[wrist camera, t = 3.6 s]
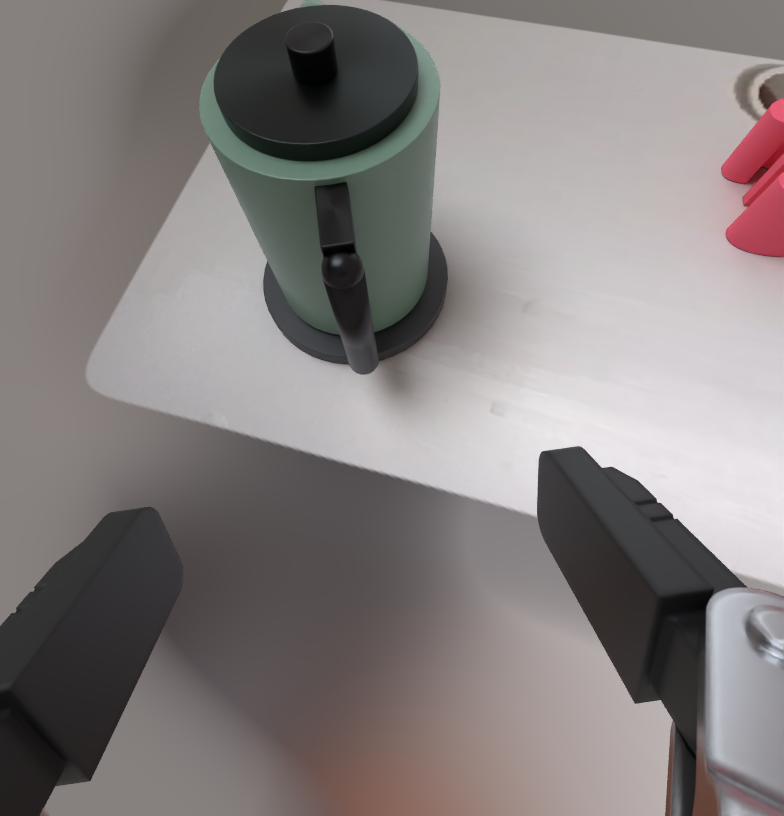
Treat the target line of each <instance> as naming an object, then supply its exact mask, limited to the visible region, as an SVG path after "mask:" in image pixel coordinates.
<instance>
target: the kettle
mask: <svg viewBox="0 0 784 816" xmlns="http://www.w3.org/2000/svg"><path fill="white" fill-rule="evenodd" d="M439 100H440V80H439V74H438V71H437V68H436V65H435V62H434V61H433V59H432V57H431V55H430V54H429V52H428V51H427V50H426V49H425V47H424V46H423V45H422V44H421V43H420V42H419V41H418V40H417V39H416V38H414V37H413V36H412V35H410V34H409V33H407V32H406V31H405V30H403V29H401V28H399V27H398V26H396V25H395V24H394V23H392V22H391V21H389V20H388V19H386V18H384V17H382V16H380V15H378V14H375V13H373V12H370V11H367V10H363V9H359V8H355V7H349V6H340V5H324V4H323V3H322V2H321V1H319V0H306V1H304V2H303V3H302V4H301V5H300V7H299V8H295V9H292V10H288V11H284V12H281V13H278V14H275V15H272V16H270V17H268V18H266V19H264V20H261V21H260V22H258V23H256V24H254V25H253V26H251V27H249V28H248V29H247V30H245V31H244V32H242V33H241V34H240V35H239V36H238V37H237V38H236V39H234V40H233V41H232V43H231V44H230V45H229V46H228V47H227V48H226V50H225V51H224V53H223V54H222V56H221V57H220V58H219V59H218V61H217V62H216V63H215V65H214V66H213V68H212V69H211V70H210V72H209V73H208V76H207V78H206V80H205V82H204V84H203V87H202V91H201V95H200V103H199V108H200V118H201V121H202V125H203V128H204V130H205V132H206V134H207V137H208V139H209V141H210V143H211V145H212V147H213V149H214V151H215V153H216V155H217V157H218V159H219V161H220V163H221V166H222V168H223V170H224V172H225V174H226V176H227V178H228V180H229V182H230V184H231V186H232V188H233V190H234V192H235V195H236V197H237V199H238V201H239V203H240V205H241V207H242V209H243V211H244V213H245V215H246V217H247V219H248V221H249V223H250V226H251V228H252V230H253V232H254V234H255V236H256V238H257V240H258V242H259V244H260V246H261V248H262V250H263V252H264V255H265V257H266V259H267V261H268V263H269V265H270V267H271V269H272V271H273V273H274V275H275V277H276V279H277V281H278V284H279V286H280V288H281V290H282V292H283V294H284V296H285V298H286V300H287V302H288V304H289V306H290V307H291V308H292V310H293V311H294V312H295V313H296V314H297V315H298V316H299V317H300V318H301V319H302V320H303V321H305V322H306V323H308V324H309V325H311V326H313V327H314V328H317V329H319V330H321V331H324V332H328V333H331V334H337V335H340V336H341V339H342V342H343V346H344V349H345V352H346V355H347V358H348V362H349V365H350V367H351V368H352V370H353V371H355V372H356V373H358V374H362V375H365V374H369V373H371V372H373V371H374V370H375V368H376V367H377V365H378V353H377V346H376V340H375V334H374V332H377V331H380V330H383V329H385V328H387V327H389V326H391V325H393V324H395V323H396V322H398V321H399V320H401V319H402V318H403V317H404V316H406V315H407V314H408V313H409V312H410V311H411V310H412V309H413V308H414V306H415V305H416V304H417V302H418V301H419V299H420V297H421V296H422V294H423V291H424V289H425V286H426V282H427V277H428V262H429V247H430V232H431V218H432V203H433V188H434V173H435V159H436V144H437V129H438V114H439Z"/></svg>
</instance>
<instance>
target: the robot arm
mask: <svg viewBox="0 0 784 816" xmlns="http://www.w3.org/2000/svg"><path fill="white" fill-rule="evenodd" d="M537 516H538V522H539V526H540V530H541V533H542V536H543V538H544V540H545V542H546V544H547V546H548V548H549V550H550V552H551V553H552V555H553V557H554V559H555V560H556V562H557V564H558V566H559V568H560V570H561V571H562V573H563V575H564V577H565V578H566V580H567V582H568V584H569V586H570V588H571V589H572V591H573V593H574V594H575V596H576V598H577V600H578V602H579V604H580V606H581V607H582V609H583V611H584V613H585V614H586V616H587V618H588V620H589V622H590V623H591V625H592V627H593V629H594V631H595V632H596V634H597V636H598V638H599V640H600V641H601V643H602V645H603V647H604V648H605V650H606V652H607V654H608V656H609V658H610V659H611V661H612V663H613V665H614V667H615V668H616V670H617V672H618V674H619V676H620V677H621V679H622V681H623V683H624V685H625V686H626V688H627V690H628V692H629V694H630V695H631V697H632V699H633V701H634V703H635V704H636V703H643V702H649V701H657V700H661V701H662V703H663V704H664V706H665V708H666V709H667V711H668V713H669V714H670V716H671V717H672V719H673V722H672V726H671V734H670V748H669V764H668V765H669V766H668V780H667V797H666V813H665V816H784V596H781V595H778V594H775V593H772V592H768V591H764V590H760V589H754V588H748V587H747V586H745V585H744V584H743V583H742V582H741V581H740V580H739V579H738V578H737V577H736V576H735V575H734V574H733V573H732V572H731V571H730V570H729V569H728V568H727V567H726V566H725V565H724V564H723V563H722V562H721V561H720V560H719V559H718V558H717V557H716V556H715V555H714V554H713V553H712V552H710V551H709V550H708V549H707V548H706V547H705V546H704V545H703V544H702V543H701V542H700V541H699V540H698V539H697V538H696V537H695V536H694V535H693V534H692V533H691V532H690V531H689V530H688V529H687V528H686V527H685V526H684V525H683V524H682V523H681V522H680V521H679V520H678V519H674V518H673V514H671V513H670V512H669V511H668V510H667V509H666V508H665V507H664V506H663V505H662V504H661V503H657V500H656V498H655V497H654V496H653V495H652V494H651V493H650V492H649V491H648V490H647V489H646V488H645V487H644V486H643V485H642V484H641V483H640V482H639V481H638V480H636V479H634V478H632V477H630V476H628V475H626V474H624V473H623V472H621V471H619V470H617V469H615V468H613V467H606V468H601V467H600V465H599V464H598V463H597V462H596V461H595V460H594V459H593V458H592V457H591V456H590V455H589V454H588V453H587V452H586V451H585V450H584V449H583V448H582V447H579V446H577V447H570V448H563V449H556V450H549V451H543V452H541V454H540V457H539V468H538V498H537ZM182 583H183V566H182V562H181V560H180V558H179V555H178V553H177V551H176V549H175V547H174V545H173V542H172V540H171V538H170V536H169V534H168V532H167V530H166V527H165V525H164V523H163V521H162V519H161V517H160V515H159V513H158V512H157V511H156V510H155V509H154V508H152V507H144V508H137V509H131V510H124V511H118V512H117V511H116V512H111V513H109V514H107V515H106V516H105V517H104V518H103V519H102V520H101V521H100V523H99V524H98V525H97V526H96V527H95V528H94V529H93V531H92V532H91V533H90V535H88V537H87V538H86V539H85V540H84V541H83V542H82V543H81V544H79V545H78V546H77V547H75V548H74V549H73V550H72V551H70V552H69V553H68V554H66V555H65V556H64V557H62V558H61V559H60V560H59V561H57V562H56V563H55V564H54V565H53V566H52V568H51V569H50V570H49V571H48V572H47V573H46V574H45V575H44V577H43V578H42V579H41V580H40V581H39V582H38V583H37V585H36V586H35V587H34V588H35V590H34V592H30V593H29V594H28V595H27V596H26V597H25V598H24V600H23V601H22V602H21V603H20V604H19V605H18V607H17V608H16V609H17V611H16V613H12V614H10V616H9V617H8V618H7V619H6V620H5V621H4V623H3V624H2V625H1V626H0V816H50V814H49V813H48V811H47V810H46V809H45V808H44V806H45V804H46V802H47V800H48V799H49V796H50V795H51V793H52V791H53V789H54V787H55V786H60V785H67V784H74V783H80V782H87V781H91V778H92V776H93V774H94V772H95V770H96V768H97V766H98V764H99V761H100V759H101V757H102V755H103V753H104V751H105V749H106V747H107V745H108V743H109V741H110V738H111V736H112V734H113V732H114V730H115V728H116V726H117V724H118V722H119V719H120V717H121V715H122V713H123V711H124V709H125V707H126V705H127V703H128V701H129V698H130V697H131V694H132V692H133V690H134V688H135V686H136V684H137V682H138V679H139V678H140V675H141V673H142V671H143V669H144V667H145V665H146V663H147V661H148V659H149V656H150V654H151V652H152V650H153V648H154V646H155V644H156V642H157V640H158V638H159V636H160V633H161V631H162V629H163V627H164V625H165V623H166V620H167V618H168V616H169V615H170V612H171V610H172V608H173V606H174V604H175V602H176V600H177V598H178V596H179V593H180V591H181V588H182Z"/></svg>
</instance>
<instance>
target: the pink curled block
mask: <svg viewBox="0 0 784 816" xmlns="http://www.w3.org/2000/svg"><path fill="white" fill-rule="evenodd" d="M761 166H762V167H765V168H767V169H768V171H767V172H766V173H765V174H764V175H763V176H762V177H761V178H760V179H759V180H758V181H757V183H756V184H755V185H754V186H753V187H752V188H751V189H750V190H749V191H748V192H747V193H746V194H745V195H744V196H743V203H744V205H747V206H749V207H748V208H747V209H746V210H745V211H744V212H743V213H742V214H741V215H740V216H739V217H738V218H737V219H736V220H735V221H734V222H733V223H732V224H731V225H730V226H729V227H728V228H727V230H726V236H727V239H728V240H729V241H730V242H731V243H732V244H733V245H734V246H736V247H738V248H740V249H742V250H745V251H748V252H751V253H755V254H760V255H767V256H780V257H784V99H780V100H778V101H776V102H774V103H773V104H772V105H771V106H770V107H769V109H768V110H767V111H766V112H765V114H764V115H763V116H762V117H761V119H760V120H759V121H758V122H757V123H756V125H755V126H754V127H753V128H752V130H751V131H750V132H749V133H748V135H747V136H746V137H745V138H744V139H743V141H742V142H741V143H740V144H739V146H738V147H737V148H736V149H735V151H734V152H733V153H732V154H731V156H730V157H729V158H728V159H727V160H726V162H725V163H724V164H723V166H722V174H723V175H724V176H725V177H726V178H727V179H729V180H731V181H734V182H738V183H744V184H746V183H747V182H748V180H749V179H750V178H751V177H752V176H753V175H754V174H755V173H756V172H757V171H758V169H759V168H760V167H761Z"/></svg>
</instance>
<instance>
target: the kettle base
mask: <svg viewBox="0 0 784 816" xmlns="http://www.w3.org/2000/svg"><path fill="white" fill-rule="evenodd" d="M447 279H448V277H447V265H446V259H445V256H444V253H443V251H442V248H441V246H440V244H439V243H438V241H437V239H436V238H435V236H434V235H433V234H432V232H430V247H429V262H428V277H427V282H426V286H425V289H424V291H423V294H422V296H421V297H420V299H419V301H418V302H417V304H416V305H415V306H414V308H413V309H412V310H411V311H410V312H409V313H408V314H407V315H406V316H404V317H403V318H402V319H401V320H399V321H398V322H396V323H395V324H393V325H391V326H389V327H387V328H385V329H383V330H380V331H377V332H374V334H375V340H376V346H377V353H378V361H379V360H383V359H386V358H388V357H391V356H394V355H396V354H398V353H400V352H402V351H404V350H406V349H407V348H409V347H410V346H411V345H413V344H414V343H416V342H417V341H418V340H419V339H420V338H421V337H422V336H424V335H425V334H426V332H427V331H428V330H429V329H430V328H431V326H432V325H433V324H434V322H435V320H436V319H437V317H438V315H439V313H440V311H441V309H442V306H443V303H444V299H445V294H446V287H447ZM263 285H264V296H265V301H266V304H267V307H268V310H269V312H270V314H271V316H272V318H273V319H274V321H275V323H276V325H277V326H278V328H279V329H280V331H281V332H282V333H283V335H284V336H285V337H286V338H287V339H288V340H289V341H290V342H291V343H292V344H294V345H295V346H297V347H298V348H299V349H301V350H302V351H304V352H306V353H308V354H310V355H312V356H314V357H317V358H319V359H322V360H326V361H330V362H334V363H343V364H349V362H348V358H347V355H346V352H345V349H344V346H343V342H342V339H341V336H340V335H337V334H331V333H328V332H324V331H321V330H319V329H317V328H314V327H313V326H311V325H309V324H308V323H306V322H305V321H303V320H302V319H301V318H300V317H299V316H298V315H297V314H296V313H295V312H294V311H293V310H292V308H291V307H290V306H289V304H288V302H287V300H286V298H285V296H284V294H283V292H282V290H281V288H280V286H279V284H278V281H277V279H276V277H275V275H274V273H273V271H272V269H271V267H270V265H269V263H268V261H267V264H266V268H265V273H264V280H263Z"/></svg>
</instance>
